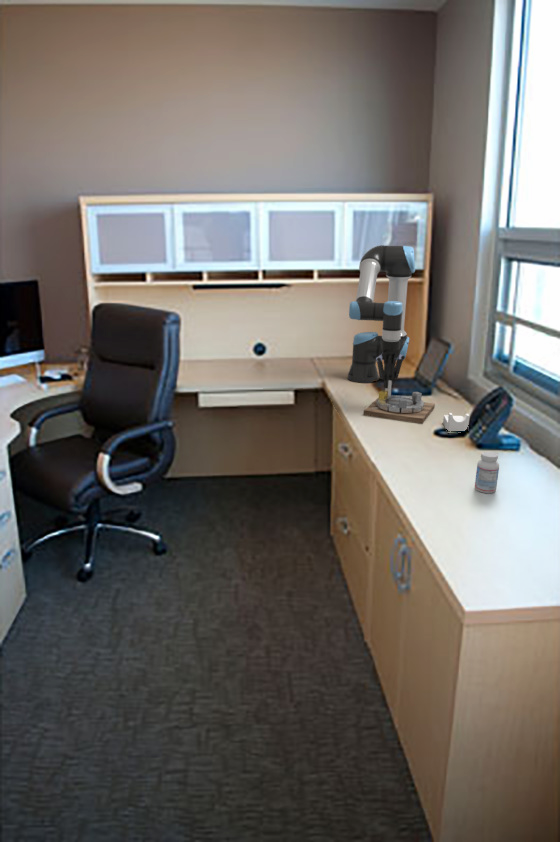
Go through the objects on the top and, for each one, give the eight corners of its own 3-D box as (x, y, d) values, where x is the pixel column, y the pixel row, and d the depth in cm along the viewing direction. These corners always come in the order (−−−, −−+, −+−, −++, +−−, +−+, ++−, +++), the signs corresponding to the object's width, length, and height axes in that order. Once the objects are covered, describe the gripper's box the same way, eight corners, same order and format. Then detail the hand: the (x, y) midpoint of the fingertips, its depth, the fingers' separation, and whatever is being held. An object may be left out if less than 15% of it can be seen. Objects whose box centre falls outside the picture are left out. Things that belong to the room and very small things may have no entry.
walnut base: (379, 400, 277) (380, 391, 275) (434, 408, 268) (435, 397, 266) (363, 415, 256) (364, 404, 254) (422, 423, 247) (423, 412, 245)
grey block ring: (367, 404, 263) (368, 392, 262) (400, 397, 274) (401, 386, 272) (400, 415, 248) (401, 403, 247) (433, 408, 259) (434, 396, 257)
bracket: (467, 435, 235) (469, 415, 233) (448, 434, 236) (450, 414, 233) (461, 424, 247) (463, 406, 245) (442, 423, 248) (444, 405, 246)
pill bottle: (479, 483, 190) (483, 448, 187) (499, 489, 187) (503, 453, 183) (470, 490, 186) (475, 454, 182) (491, 495, 182) (495, 459, 179)
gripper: (400, 337, 264) (396, 391, 271) (372, 339, 260) (369, 394, 267) (409, 340, 257) (405, 396, 265) (381, 342, 253) (378, 399, 260)
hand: (387, 395), depth 266 cm, fingers closed
